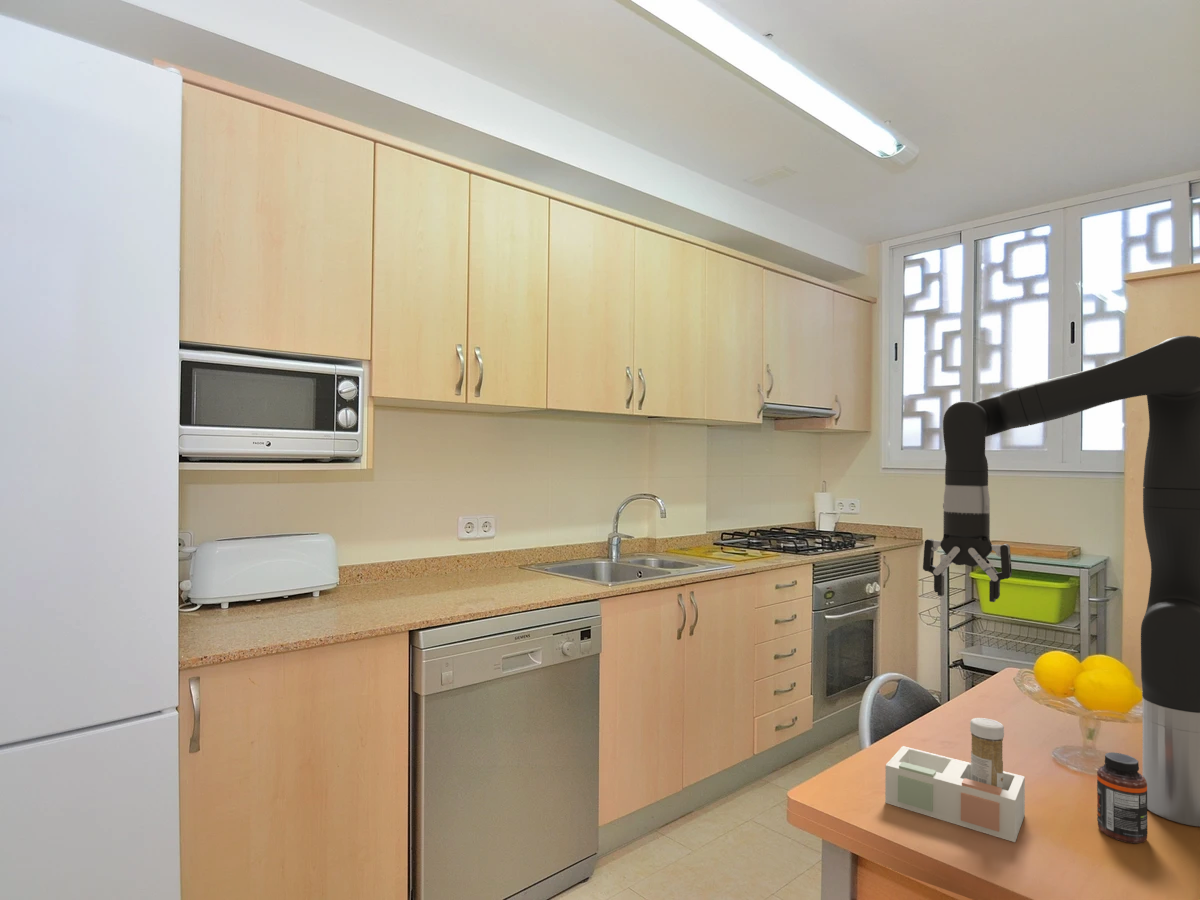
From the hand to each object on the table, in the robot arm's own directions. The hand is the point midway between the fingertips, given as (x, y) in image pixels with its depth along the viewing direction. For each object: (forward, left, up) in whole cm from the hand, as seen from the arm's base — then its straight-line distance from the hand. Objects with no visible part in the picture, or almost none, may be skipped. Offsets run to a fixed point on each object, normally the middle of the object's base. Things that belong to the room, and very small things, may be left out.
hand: (966, 598), depth 126 cm
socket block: (-2, +20, -30) cm, 36 cm away
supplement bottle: (-23, +12, -30) cm, 40 cm away
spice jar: (-6, +19, -29) cm, 35 cm away
